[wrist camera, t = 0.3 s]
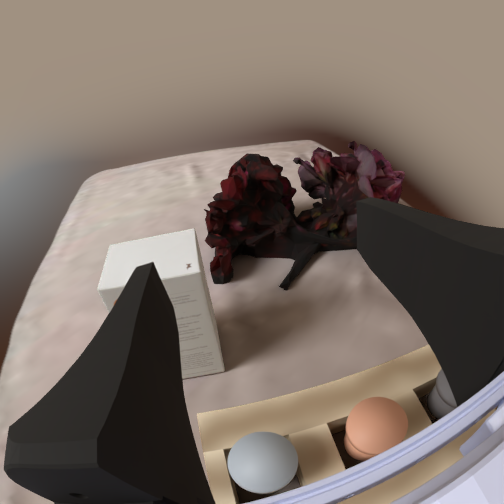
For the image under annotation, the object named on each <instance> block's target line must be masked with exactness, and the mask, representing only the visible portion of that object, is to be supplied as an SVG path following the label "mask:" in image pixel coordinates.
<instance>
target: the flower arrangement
mask: <svg viewBox="0 0 504 504" xmlns="http://www.w3.org/2000/svg"><path fill="white" fill-rule="evenodd" d="M348 147H349V148H351V149H353V150H354V154H351V153H342V154H340V155H341V157H332V153H331V152H330V151H326V150H323V149H321V148H319V147H318V148H317V149H316V150H314V151H313V156H312V158H311V162H312V163H313V164H314V167H312V166H311V164H310V162H308V161H305V162H304V161H303V160H301V159H300V158H294V160H293V161H294V162H295V163H296V164H300V165H301V166H300V167H299V170H298V174H299V177H300V180H301V187H302V188H303V189H304V190H305V191H306V192H308V193H309V194H308V195H309V196H310V197H312V198H313V199H319V198H322V204H321V203H319V202H316V203H314V204H313V207H314V208H313V209H310V210H305V211H302V212H301V213H300V214H299V216H298V217H296V216H295V214H294V209H295V206H294V204H293V201H292V197H293V196H294V194H295V193H296V189H295V188H292V187H291V183H290V181H289V180H288V179H287V177H284V176H281V171H282V170H283V167H281V166H279V165H272V163H271V162H270V160H269V158H268V157H264V156H260V155H259V154H246V155H245V156H243V157H242V158H241V159H240V160H239V161H237V162H236V163H235V164H234V165H233V166H232V167H231V168H230V170H229V176H228V179H225V180H222V181H221V188H222V192H221V193H217V194H215V196H214V197H213V198H214V200H215V201H213V202H210V203H209V204H208V206H209V208H210V211H208V210H205V209H204V210H205V211H206V212H207V216H206V218H205V221H206V225H207V230H208V235H207V237H206V239H205V242H206V243H207V244H208V245H209V246H210V247H211V248H214V247H215V257H214V260H213V261H212V262H211V263H210V271H211V275H212V279H213V282H214V284H224V283H227V282H229V281H230V280H231V279H232V277H233V268H232V265H231V262H230V261H231V258H233V257H234V256H236V255H238V254H245V255H250V256H253V257H256V258H290V259H293V260H295V262H294V264H293V266H292V269H291V271H290V272H289V274H288V275H287V276H286V278H285V279H284V280H283V282H282V283H281V284H280V286H279V287H281V288H283V289H284V290H288V287H289V285H290V283H291V282H292V281H293V280H294V278H295V277H296V276H297V275H298V274H299V272H300V271H301V270H302V268H303V267H304V266H305V264H306V263H307V262H308V261H309V259H310V258H311V256H312V255H313V254H315V253H317V252H319V251H337V250H348V249H357V207H356V201H359V200H362V199H366V198H369V197H373V198H379V199H383V200H387V201H391V202H395V203H398V201H399V198H400V195H401V191H402V186H401V184H402V182H403V179H404V176H405V174H404V172H402V171H393V170H392V168H391V164H390V163H389V162H388V161H387V160H385V158H384V157H383V155H382V154H381V153H380V152H379V151H377V150H376V149H374V150H372V151H369V149H368V148H367V147H366V146H364V145H362V144H360V146H359V147H358V149H357V144H356V142H355V141H353V142H351V143H349V145H348ZM324 198H326V199H324Z"/></svg>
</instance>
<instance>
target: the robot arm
mask: <svg viewBox="0 0 504 504" xmlns="http://www.w3.org/2000/svg"><path fill="white" fill-rule="evenodd" d="M356 207H357V250H358V251H359V253H360V254H361V256H362V257H363V259H364V260H365V262H366V263H367V265H368V266H369V268H370V269H371V270H372V271H373V273H374V274H375V275H376V276H377V277H378V278H379V279H380V280H381V282H382V283H383V284H384V285H385V286H386V287H387V288H388V289H389V291H390V292H391V293H392V294H393V295H394V296H395V297H396V299H397V300H398V301H399V302H400V303H401V304H402V305H403V307H404V308H405V309H406V310H407V311H408V313H409V314H410V315H411V317H412V318H413V320H414V321H415V323H416V324H417V326H418V327H419V329H420V330H421V332H422V333H423V335H424V337H425V338H426V340H427V342H428V344H429V345H430V347H431V349H432V351H433V352H434V354H435V356H436V358H437V360H438V362H439V364H440V366H441V368H442V370H443V372H444V374H445V376H446V379H447V381H448V383H449V386H450V388H451V391H452V393H453V396H454V398H455V401H456V404H457V408H456V409H454V410H453V411H451V412H450V413H448V414H447V415H446V416H444V417H443V418H441V419H439V420H438V421H436V422H435V423H433V424H432V425H430V426H428V427H427V428H425V429H424V430H422V431H420V432H419V433H417V434H415V435H414V436H412V437H410V438H408V439H407V440H405V441H403V442H401V443H399V444H398V445H396V446H394V447H392V448H390V449H388V450H386V451H384V452H382V453H380V454H378V455H376V456H374V457H372V458H370V459H368V460H366V461H364V462H362V463H360V464H357V465H355V466H353V467H351V468H348V469H346V470H344V471H341V472H339V473H337V474H334V475H332V476H329V477H327V478H324V479H321V480H319V481H316V482H313V483H311V484H308V485H305V486H302V487H299V488H296V489H293V490H290V491H287V492H284V493H281V494H277V495H274V496H270V497H267V498H263V499H259V500H256V501H252V502H248V503H243V504H336V503H339V502H341V501H344V500H346V499H349V498H351V497H353V496H355V495H358V494H360V493H362V492H364V491H366V490H369V489H371V488H373V487H375V486H377V485H379V484H381V483H383V482H385V481H387V480H389V479H391V478H393V477H394V476H396V475H398V474H400V473H402V472H404V471H405V470H407V469H409V468H411V467H412V466H414V465H416V464H417V463H419V462H421V461H422V460H424V459H426V458H427V457H429V456H430V455H432V454H434V453H435V452H437V451H438V450H440V449H441V448H443V447H444V446H446V445H447V444H449V443H450V442H452V441H453V440H454V439H456V438H457V437H459V436H460V435H461V434H463V433H464V432H465V431H467V430H468V429H469V428H471V427H472V426H473V425H475V424H476V423H477V422H478V421H480V420H481V419H482V418H483V417H485V416H486V415H487V414H488V413H489V412H491V411H492V410H493V409H494V408H495V407H497V406H498V407H497V410H496V411H495V412H494V413H493V414H492V415H491V416H489V417H488V418H487V419H486V420H485V422H484V423H483V424H482V426H481V427H480V428H479V429H478V430H477V431H476V432H475V433H474V434H473V435H472V436H471V437H470V438H469V439H468V440H467V441H466V442H465V443H464V444H462V445H461V446H460V449H459V450H460V452H461V453H462V455H463V456H464V457H463V458H461V459H460V460H459V461H457V462H456V463H454V464H453V465H452V466H450V467H449V468H447V469H446V470H444V471H443V472H441V473H440V474H438V475H437V476H435V477H434V478H432V479H431V480H429V481H428V482H426V483H424V484H423V485H421V486H419V487H418V488H416V489H414V490H413V491H411V492H409V493H408V494H406V495H404V496H402V497H401V498H399V499H397V500H395V501H393V502H391V503H389V504H504V228H496V227H488V226H482V225H477V224H472V223H467V222H462V221H457V220H453V219H449V218H446V217H442V216H439V215H435V214H431V213H428V212H425V211H421V210H418V209H415V208H411V207H408V206H405V205H401V204H398V203H395V202H391V201H387V200H383V199H379V198H373V197H369V198H366V199H362V200H359V201H356ZM4 471H5V472H6V474H7V475H8V477H9V478H10V479H12V480H13V481H14V482H16V483H17V484H19V485H20V486H22V487H24V488H26V489H28V490H30V491H32V492H34V493H36V494H38V495H40V496H42V497H44V498H46V499H48V500H51V501H53V502H54V504H216V503H215V500H214V498H213V495H212V493H211V490H210V487H209V484H208V482H207V479H206V476H205V473H204V470H203V467H202V464H201V461H200V457H199V454H198V451H197V447H196V444H195V440H194V436H193V433H192V429H191V425H190V421H189V416H188V412H187V408H186V403H185V398H184V391H183V382H182V370H181V357H180V344H179V332H178V326H177V321H176V316H175V311H174V307H173V305H172V302H171V300H170V298H169V296H168V294H167V292H166V289H165V287H164V285H163V283H162V281H161V278H160V276H159V274H158V272H157V269H156V267H155V265H154V262H150V263H147V264H144V265H141V266H138V267H136V268H135V270H134V271H133V273H132V275H131V276H130V278H129V280H128V282H127V283H126V285H125V287H124V289H123V290H122V292H121V294H120V296H119V297H118V299H117V301H116V303H115V304H114V306H113V308H112V310H111V311H110V313H109V314H108V316H107V317H106V319H105V321H104V322H103V324H102V326H101V327H100V329H99V330H98V332H97V333H96V335H95V336H94V338H93V339H92V341H91V342H90V343H89V345H88V346H87V347H86V349H85V350H84V352H83V353H82V354H81V356H80V357H79V358H78V359H77V360H76V362H75V363H74V364H73V365H72V366H71V368H70V369H69V370H68V371H67V372H66V373H65V375H64V376H63V377H62V378H61V379H60V380H59V382H58V383H57V384H56V385H55V386H54V387H53V388H52V389H51V390H50V391H49V392H48V393H47V394H46V395H45V396H44V397H43V398H42V399H41V400H40V401H39V402H38V403H37V404H36V405H35V406H33V407H32V408H31V409H30V410H29V411H28V412H27V413H25V414H24V415H23V416H22V417H21V418H19V419H18V420H17V421H16V422H15V423H14V424H12V425H11V426H10V427H9V431H8V437H7V444H6V452H5V461H4Z"/></svg>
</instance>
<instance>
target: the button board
mask: <svg viewBox="0 0 504 504" xmlns="http://www.w3.org/2000/svg"><path fill="white" fill-rule="evenodd" d="M440 370H441V366H440V364H439V362H438V360H437V358H436V356H435V354H434V352H433V351H432V349H431V347H430V345H427V346H425V347H422V348H420V349H418V350H415V351H413V352H411V353H408V354H406V355H403V356H401V357H399V358H396V359H394V360H391V361H388V362H386V363H383V364H381V365H378V366H375V367H373V368H370V369H367V370H364V371H362V372H359V373H356V374H353V375H350V376H347V377H344V378H341V379H338V380H335V381H332V382H329V383H326V384H322V385H319V386H316V387H312V388H309V389H305V390H302V391H298V392H295V393H291V394H287V395H283V396H279V397H276V398H271V399H267V400H263V401H259V402H255V403H250V404H246V405H241V406H236V407H231V408H226V409H221V410H215V411H210V412H204V413H198V414H197V418H198V425H199V431H200V437H201V442H202V448H203V453H204V459H205V464H206V469H207V474H208V479H209V484H210V489H211V493H212V495H213V498H214V500H215V503H216V504H240V503H239V499H238V495H237V491H236V487H235V483H234V479H233V478H232V476H231V475H230V473H229V470H228V455H229V452H230V450H231V448H232V447H233V445H234V444H235V443H236V442H237V441H238V440H239V439H241V438H242V437H244V436H246V435H248V434H251V433H254V432H263V431H264V432H273V433H276V434H279V435H281V436H283V437H285V438H286V439H287V440H289V441H290V442H291V444H292V445H293V446H294V448H295V450H296V452H297V455H298V467H297V471H296V474H297V477H298V480H299V483H300V486H301V487H302V486H305V485H308V484H311V483H313V482H316V481H319V480H321V479H324V478H327V477H329V476H332V475H334V474H337V473H339V472H341V471H344V470H346V469H345V467H344V464H343V462H342V459H341V457H340V454H339V452H338V449H337V447H336V445H335V442H334V440H333V437H332V435H331V434H334V433H337V432H340V431H343V430H346V428H345V427H346V421H347V418H348V416H349V414H350V412H351V410H352V409H353V408H354V407H355V406H356V405H357V404H358V403H359V402H361V401H362V400H365V399H367V398H371V397H385V398H389V399H391V400H393V401H395V402H396V403H398V404H399V405H400V406H401V407H402V408H403V410H404V411H405V413H406V415H407V419H408V430H407V433H406V436H405V437H404V439H403V440H402V442H403V441H405V440H407V439H408V438H410V437H412V436H414V435H415V434H417V433H419V432H420V431H422V430H424V429H425V428H427V427H428V426H430V425H432V422H431V420H430V419H429V417H428V415H427V413H426V411H425V410H424V408H423V406H422V405H421V403H420V401H419V399H418V398H420V397H422V396H424V395H426V394H428V393H430V392H431V390H432V389H433V388H434V386H435V385H436V378H437V375H438V373H439V371H440ZM495 411H496V409H495V408H494V409H493V410H492V411H491V412H489V413H488V414H487V415H486V416H485V417H483V418H482V419H481V420H480V421H478V422H477V423H476V424H475V425H473V426H472V427H471V428H469V429H468V430H467V431H465V432H464V433H463V434H461V435H460V436H459V437H457V438H456V439H454V440H453V441H452V442H450V443H449V444H447V445H446V446H444V447H443V448H441V449H440V450H438V451H437V452H435V453H434V454H432V455H430V456H429V457H427V458H426V459H424V460H422V461H421V462H419V463H417V464H416V465H414V466H412V467H411V468H409V469H407V470H405V471H404V472H402V473H400V474H398V475H396V476H394V477H393V478H391V479H389V480H387V481H385V482H383V483H381V484H379V485H377V486H375V487H373V488H371V489H369V490H366V491H364V492H362V493H360V494H358V495H355V496H353V497H351V498H349V499H346V500H344V501H341V502H339V503H336V504H389V503H391V502H393V501H395V500H397V499H399V498H401V497H402V496H404V495H406V494H408V493H409V492H411V491H413V490H414V489H416V488H418V487H419V486H421V485H423V484H424V483H426V482H428V481H429V480H431V479H432V478H434V477H435V476H437V475H438V474H440V473H441V472H443V471H444V470H446V469H447V468H449V467H450V466H452V465H453V464H454V463H456V462H457V461H459V460H460V459H461V458H463V457H464V456H463V455H462V453H461V452H460V450H459V449H460V446H461V445H462V444H464V443H465V442H466V441H467V440H468V439H469V438H470V437H471V436H472V435H473V434H474V433H475V432H476V431H477V430H478V429H479V428H480V427H481V426H482V424H483V423H484V422H485V420H486V419H487V418H488V417H489V416H491V415H492V414H493V413H494V412H495Z"/></svg>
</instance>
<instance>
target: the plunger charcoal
mask: <svg viewBox="0 0 504 504" xmlns="http://www.w3.org/2000/svg"><path fill="white" fill-rule="evenodd" d="M427 404H428V408H429V410H430V412H431V413H432V414H433V415H434V416H435V417H436V418H438V419H441V418H443V417H444V416H446V415H447V414H448V413H450V412H451V411H453V410H454V409H456V408H457V404H456V401H455V398H454V396H453V393H452V391H451V388H450V386H449V383H448V381H447V379H446V376H445V374H444V372H443V370H442V368H441V370H440V371H439V373H438V375H437V378H436V385H435V386H434V388H433V389H432V390H431V392H430V393H429V395H428V399H427Z"/></svg>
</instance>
